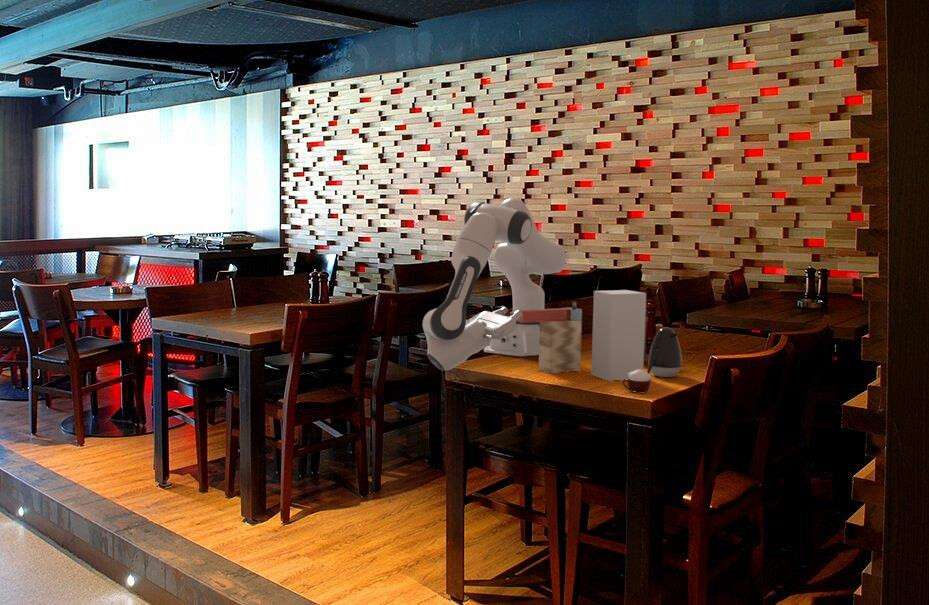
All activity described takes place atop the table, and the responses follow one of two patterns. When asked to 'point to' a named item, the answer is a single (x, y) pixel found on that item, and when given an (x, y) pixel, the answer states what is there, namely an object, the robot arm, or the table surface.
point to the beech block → (560, 346)
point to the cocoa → (640, 378)
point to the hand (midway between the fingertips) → (513, 310)
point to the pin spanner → (551, 314)
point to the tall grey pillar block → (618, 333)
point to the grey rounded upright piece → (665, 353)
